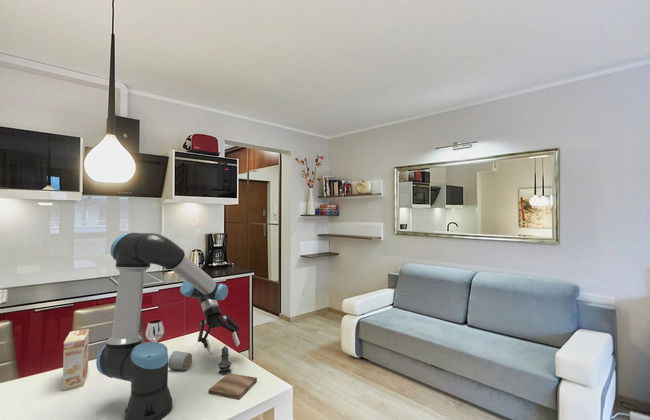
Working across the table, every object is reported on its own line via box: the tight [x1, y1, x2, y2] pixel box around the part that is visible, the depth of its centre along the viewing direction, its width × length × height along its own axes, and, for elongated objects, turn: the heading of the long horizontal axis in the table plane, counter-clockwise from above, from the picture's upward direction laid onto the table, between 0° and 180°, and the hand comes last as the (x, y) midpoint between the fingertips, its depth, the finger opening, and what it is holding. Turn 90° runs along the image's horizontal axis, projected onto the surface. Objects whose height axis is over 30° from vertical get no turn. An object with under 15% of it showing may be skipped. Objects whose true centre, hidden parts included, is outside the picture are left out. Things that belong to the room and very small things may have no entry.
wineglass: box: [145, 319, 165, 343], centre depth 156 cm, size 8×8×18 cm
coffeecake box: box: [62, 328, 90, 392], centre depth 135 cm, size 15×7×20 cm, turn 31°
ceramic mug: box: [168, 350, 193, 371], centre depth 147 cm, size 11×8×8 cm
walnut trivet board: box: [207, 372, 258, 400], centre depth 130 cm, size 14×14×2 cm
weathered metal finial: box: [217, 345, 233, 376], centre depth 142 cm, size 6×6×12 cm
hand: (224, 349), depth 145 cm, fingers open, 13 cm apart
